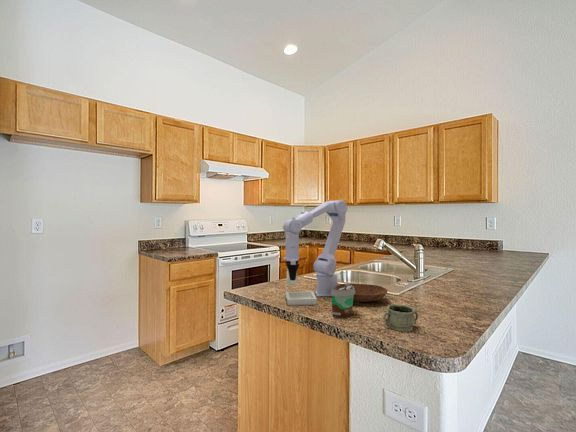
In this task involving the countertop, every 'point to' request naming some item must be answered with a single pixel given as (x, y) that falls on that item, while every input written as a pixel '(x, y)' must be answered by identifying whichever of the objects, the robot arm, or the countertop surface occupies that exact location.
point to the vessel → (400, 317)
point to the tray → (301, 298)
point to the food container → (342, 301)
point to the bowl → (366, 292)
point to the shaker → (291, 282)
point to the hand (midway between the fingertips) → (292, 278)
